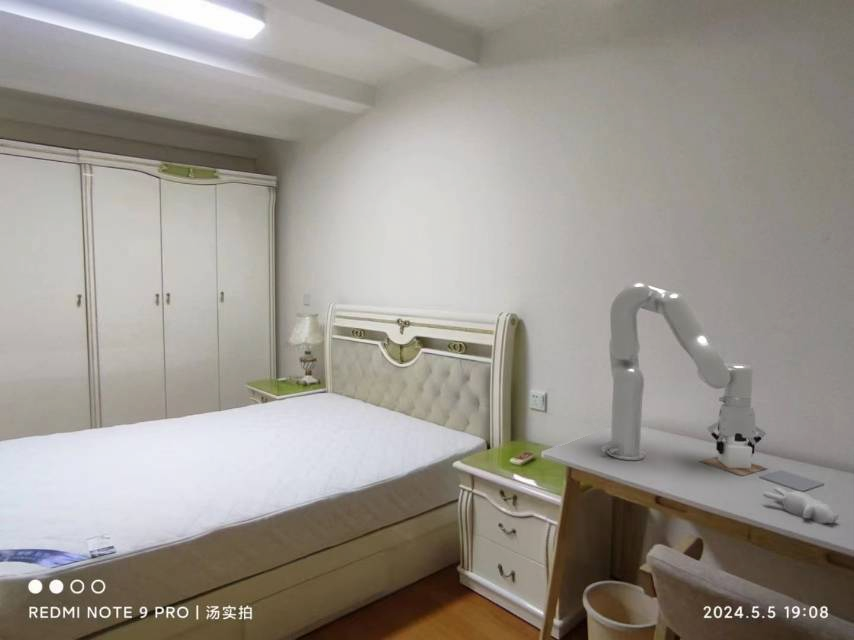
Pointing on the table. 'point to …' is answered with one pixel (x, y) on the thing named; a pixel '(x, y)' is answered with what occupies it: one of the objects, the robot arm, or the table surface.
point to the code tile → (738, 471)
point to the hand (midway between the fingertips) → (734, 453)
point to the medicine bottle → (736, 452)
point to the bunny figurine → (804, 505)
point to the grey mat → (792, 480)
